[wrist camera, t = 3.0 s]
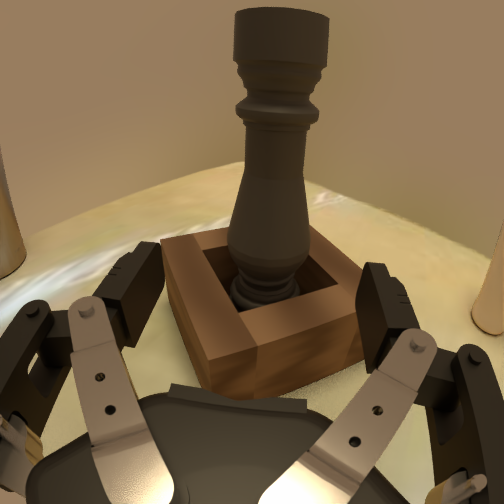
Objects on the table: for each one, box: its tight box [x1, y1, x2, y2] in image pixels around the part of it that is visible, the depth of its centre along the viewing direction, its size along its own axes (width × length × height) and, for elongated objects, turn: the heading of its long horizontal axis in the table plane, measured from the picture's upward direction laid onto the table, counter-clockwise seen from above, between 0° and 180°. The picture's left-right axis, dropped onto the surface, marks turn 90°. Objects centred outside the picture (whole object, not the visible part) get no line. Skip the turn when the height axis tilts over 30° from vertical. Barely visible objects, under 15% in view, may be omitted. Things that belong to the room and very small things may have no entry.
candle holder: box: [227, 7, 329, 313], centre depth 22 cm, size 6×6×25 cm
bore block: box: [160, 225, 364, 401], centre depth 27 cm, size 14×14×7 cm
